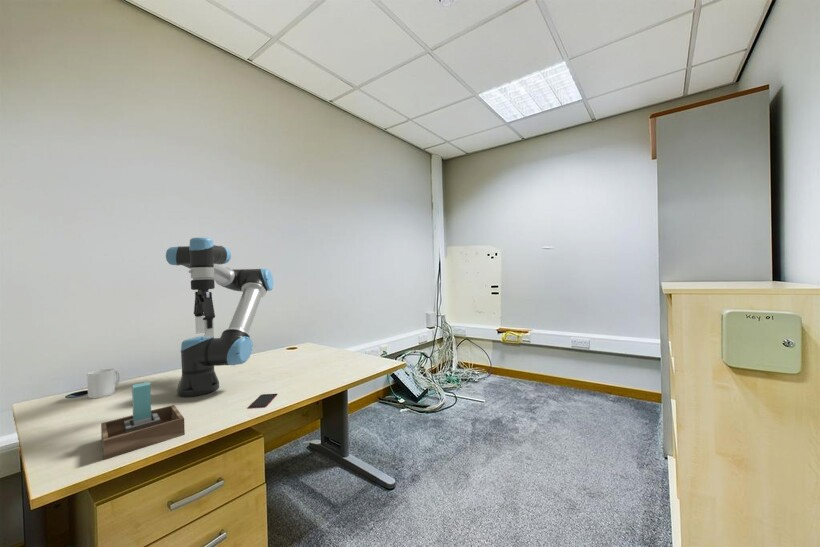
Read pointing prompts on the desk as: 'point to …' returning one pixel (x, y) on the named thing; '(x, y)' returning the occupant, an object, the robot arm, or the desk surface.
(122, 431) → the connector box
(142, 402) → the connector plug
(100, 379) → the cup
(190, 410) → the desk surface
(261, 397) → the smartphone
